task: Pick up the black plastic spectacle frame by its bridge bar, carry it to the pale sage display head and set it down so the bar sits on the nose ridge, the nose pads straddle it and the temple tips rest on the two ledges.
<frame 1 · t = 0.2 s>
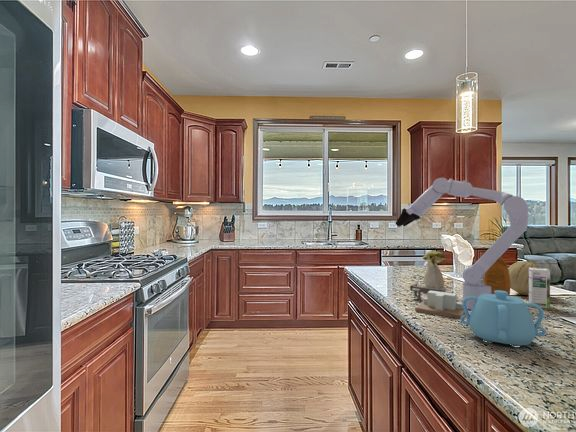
hand: (399, 224, 139), 30 cm above the counter, tool tilted 45°, fingers open, 7 cm apart
decorative pot: (500, 340, 92), on the counter
display head: (439, 312, 116), on the counter
cantaloupe: (525, 295, 143), on the counter
glasses: (426, 300, 133), on the counter
syrup box: (538, 306, 125), on the counter
coffee package: (495, 301, 133), on the counter
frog: (435, 292, 148), on the counter
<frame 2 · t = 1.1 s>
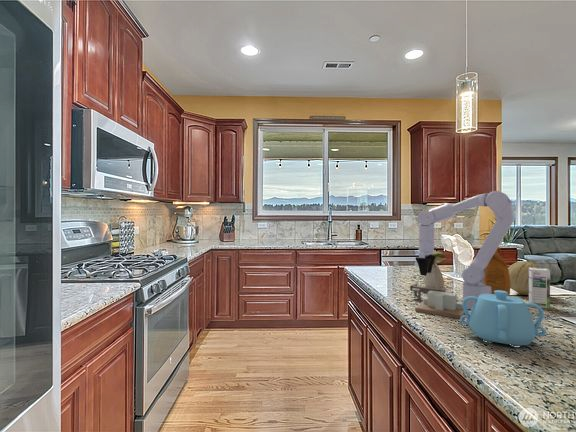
hand: (425, 274, 133), 11 cm above the counter, tool pointing down, fingers open, 7 cm apart
nothing on the counter moved.
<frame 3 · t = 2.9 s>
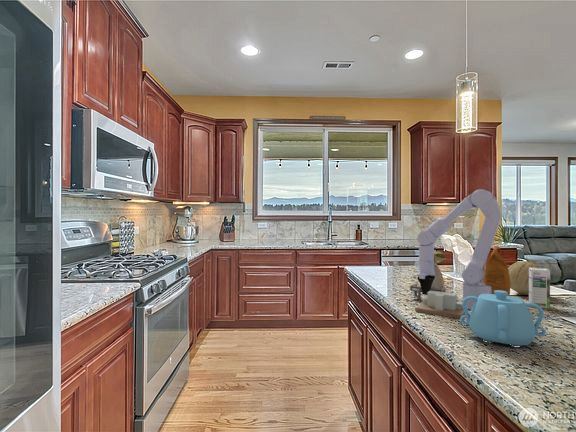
hand: (426, 293, 133), 3 cm above the counter, tool pointing down, fingers closed on glasses, 2 cm apart
glasses: (426, 300, 133), on the counter, touching gripper
everything else where it was.
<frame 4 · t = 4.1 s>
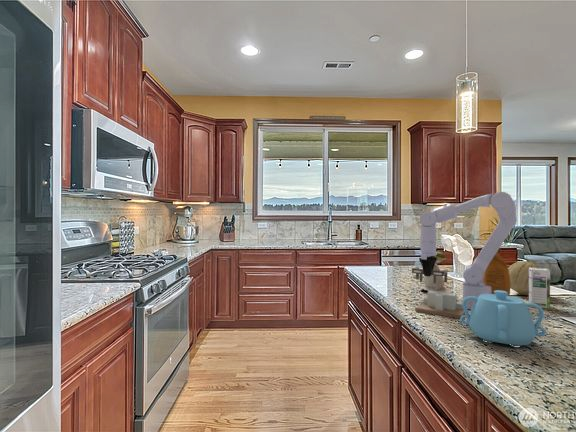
hand: (428, 275, 131), 10 cm above the counter, tool pointing down, fingers closed on glasses
glasses: (427, 282, 131), point 8 cm above the counter, touching gripper
everything else where it was.
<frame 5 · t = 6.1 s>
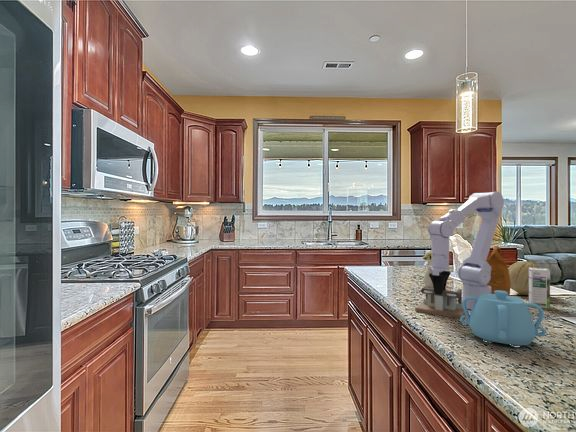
hand: (439, 292, 116), 7 cm above the counter, tool pointing down, fingers open, 5 cm apart
glasses: (440, 304, 116), point 3 cm above the counter, touching display head
everything else where it was.
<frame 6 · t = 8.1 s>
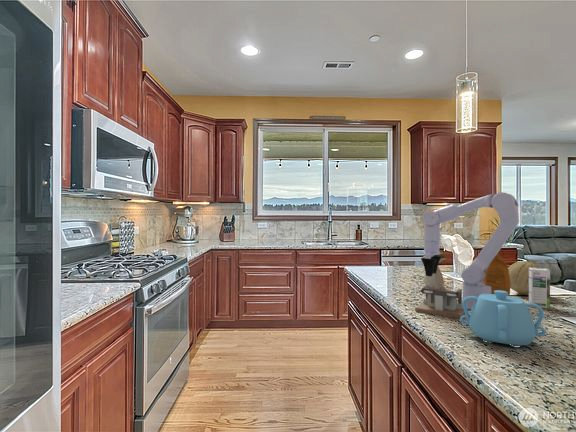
hand: (431, 274, 133), 10 cm above the counter, tool pointing down, fingers open, 7 cm apart
nothing on the counter moved.
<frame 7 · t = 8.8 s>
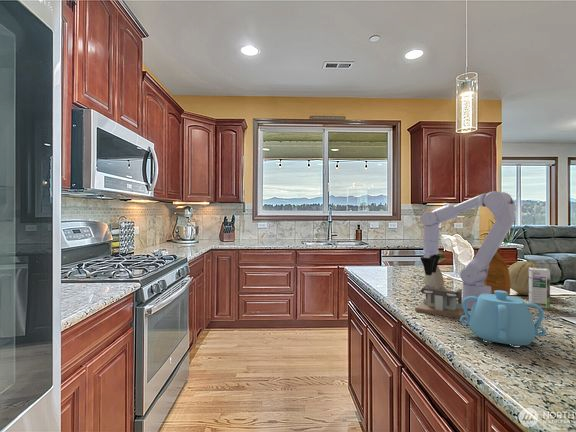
hand: (430, 273, 135), 10 cm above the counter, tool pointing down, fingers open, 7 cm apart
nothing on the counter moved.
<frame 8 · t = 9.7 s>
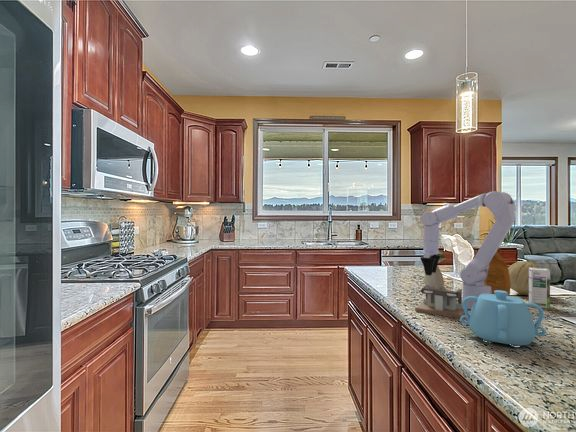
hand: (430, 273, 135), 10 cm above the counter, tool pointing down, fingers open, 7 cm apart
nothing on the counter moved.
at the end: glasses 0.2 cm off-centre on the display head, point 3.0 cm above the display head's base; glasses tilted 0°; the gripper is holding nothing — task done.
